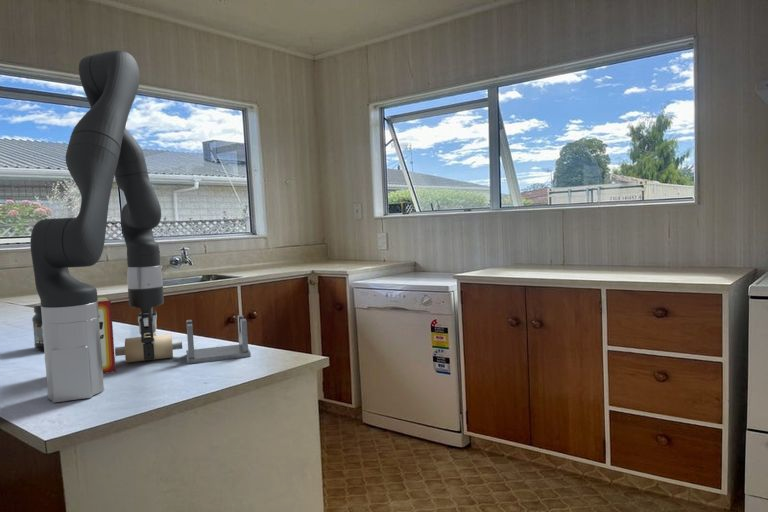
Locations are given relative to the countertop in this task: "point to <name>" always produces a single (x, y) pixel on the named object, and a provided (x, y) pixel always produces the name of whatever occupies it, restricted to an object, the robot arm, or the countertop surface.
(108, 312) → the baking soda box
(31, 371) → the countertop surface
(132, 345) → the paper roll
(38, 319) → the supplement container
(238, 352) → the roll holder
